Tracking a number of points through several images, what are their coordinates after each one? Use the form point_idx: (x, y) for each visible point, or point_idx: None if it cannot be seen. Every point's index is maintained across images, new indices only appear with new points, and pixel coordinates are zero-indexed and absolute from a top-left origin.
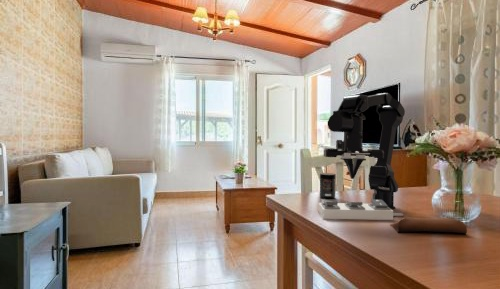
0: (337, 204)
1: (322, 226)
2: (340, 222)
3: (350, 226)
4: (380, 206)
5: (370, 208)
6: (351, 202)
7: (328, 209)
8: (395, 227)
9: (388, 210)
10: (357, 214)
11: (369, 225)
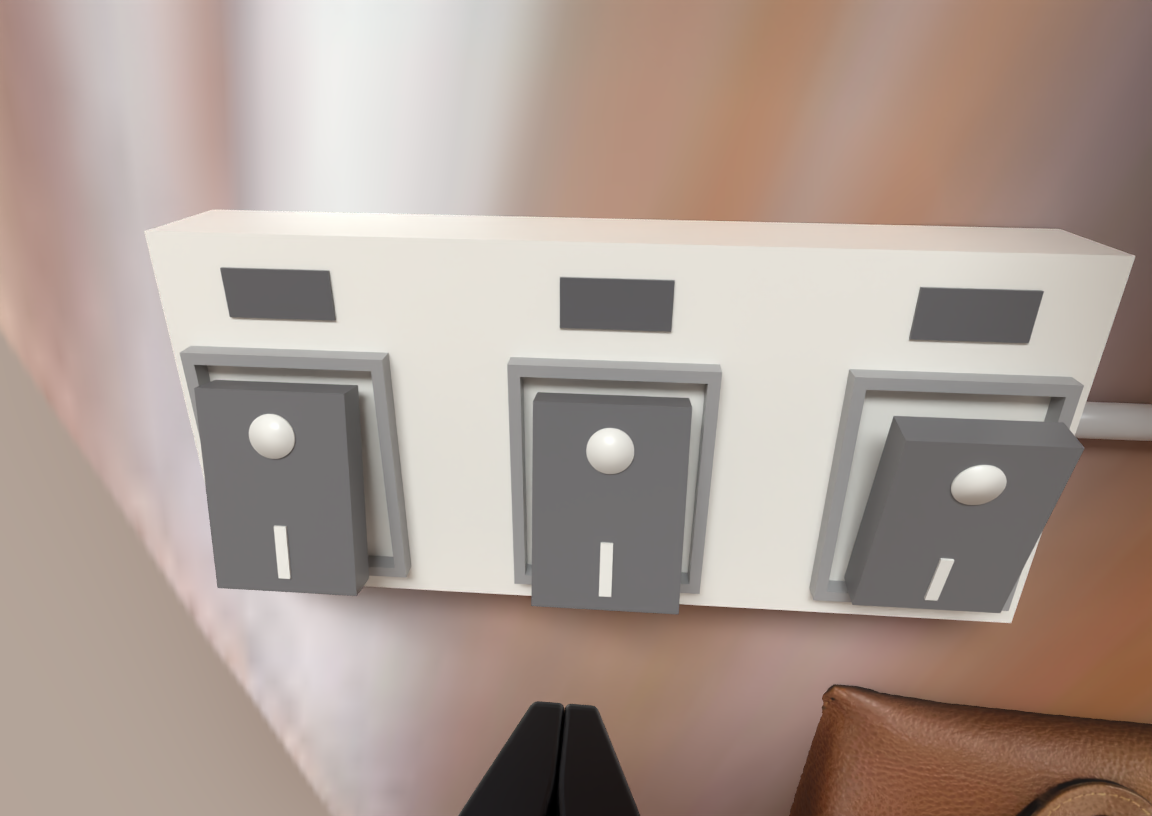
0: (367, 580)
1: (268, 707)
2: (421, 621)
3: (482, 711)
4: (903, 595)
5: (788, 535)
6: (535, 605)
7: None
8: (806, 795)
9: (957, 618)
10: None
11: (646, 692)
